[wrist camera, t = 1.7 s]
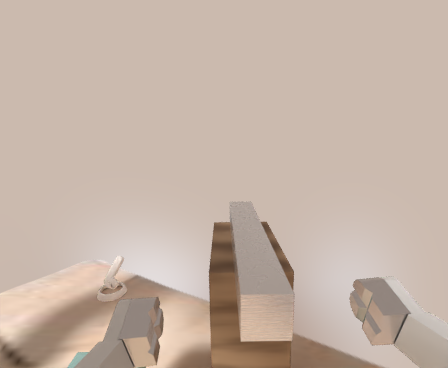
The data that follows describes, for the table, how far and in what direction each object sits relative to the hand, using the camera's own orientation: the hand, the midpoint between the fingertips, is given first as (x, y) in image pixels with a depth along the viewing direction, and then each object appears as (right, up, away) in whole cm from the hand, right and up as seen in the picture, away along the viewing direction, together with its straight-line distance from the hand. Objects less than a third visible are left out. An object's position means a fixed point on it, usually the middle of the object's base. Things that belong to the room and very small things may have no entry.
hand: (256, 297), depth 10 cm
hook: (-33, -26, +58) cm, 71 cm away
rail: (+2, -5, +22) cm, 23 cm away
